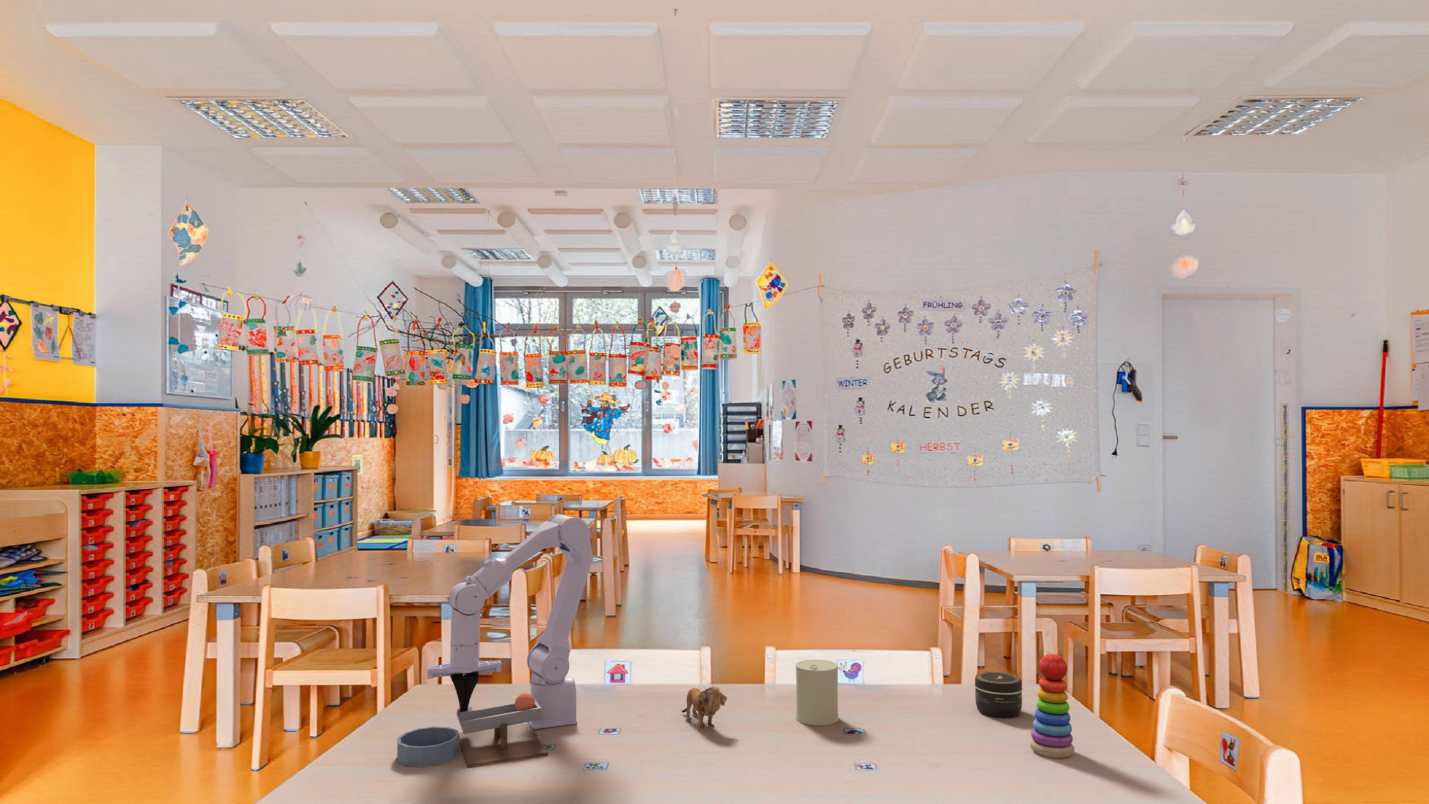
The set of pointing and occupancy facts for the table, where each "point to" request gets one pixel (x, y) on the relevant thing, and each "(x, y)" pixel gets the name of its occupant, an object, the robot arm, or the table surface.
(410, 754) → the bowl
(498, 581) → the robot arm
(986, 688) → the jar
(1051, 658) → the stacking toy
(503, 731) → the catapult base
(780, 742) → the table surface
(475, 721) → the lever
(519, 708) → the ball
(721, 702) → the lion figurine
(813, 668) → the can
